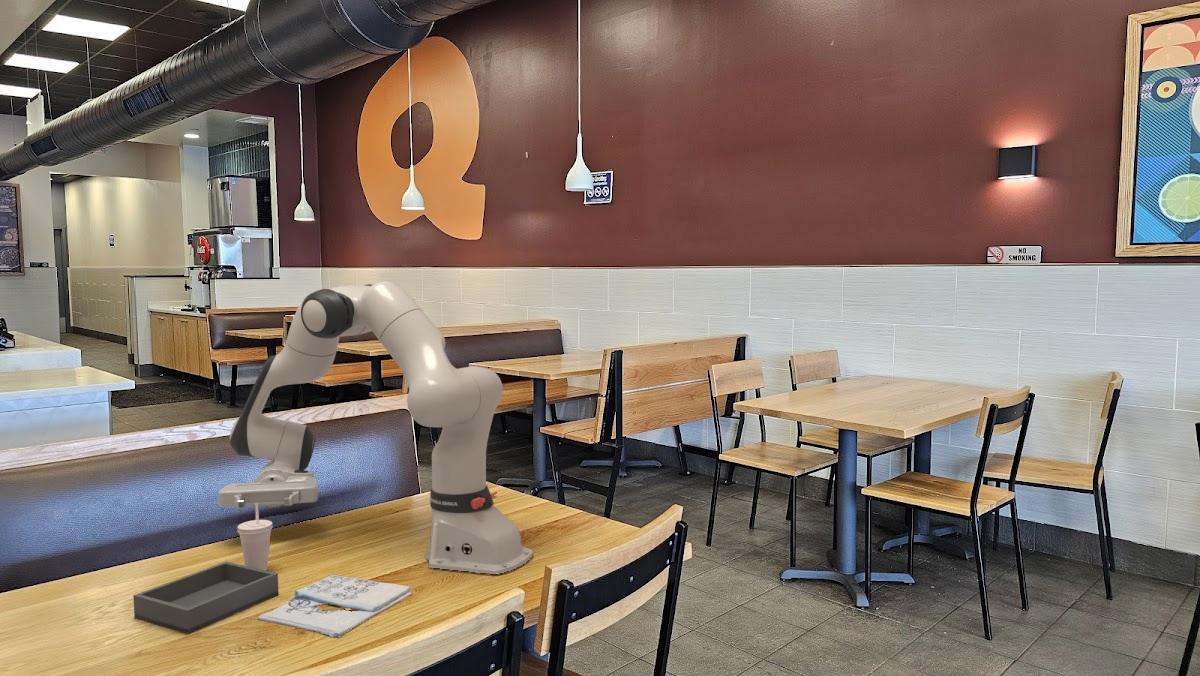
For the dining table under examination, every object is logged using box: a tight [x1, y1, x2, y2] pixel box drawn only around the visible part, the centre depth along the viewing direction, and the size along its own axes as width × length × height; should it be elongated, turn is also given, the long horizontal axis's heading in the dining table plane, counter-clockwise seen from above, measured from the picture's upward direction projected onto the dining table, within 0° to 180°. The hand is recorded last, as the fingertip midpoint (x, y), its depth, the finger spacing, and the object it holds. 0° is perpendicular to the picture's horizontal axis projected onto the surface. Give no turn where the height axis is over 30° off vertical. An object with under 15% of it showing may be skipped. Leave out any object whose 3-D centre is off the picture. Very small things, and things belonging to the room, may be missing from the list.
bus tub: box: [132, 561, 280, 635], centre depth 139 cm, size 14×18×4 cm
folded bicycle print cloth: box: [257, 574, 413, 638], centre depth 139 cm, size 19×20×2 cm
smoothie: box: [237, 503, 274, 571], centre depth 154 cm, size 6×6×14 cm
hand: (263, 503), depth 166 cm, fingers open, 8 cm apart
